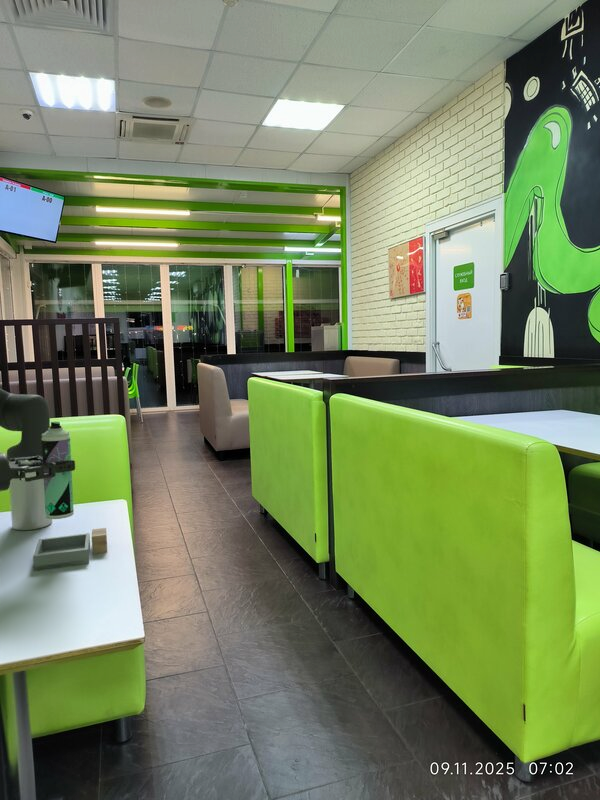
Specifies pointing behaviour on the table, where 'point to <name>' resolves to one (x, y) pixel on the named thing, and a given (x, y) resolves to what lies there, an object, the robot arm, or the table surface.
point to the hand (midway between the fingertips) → (69, 462)
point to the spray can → (61, 484)
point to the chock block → (99, 540)
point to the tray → (62, 551)
